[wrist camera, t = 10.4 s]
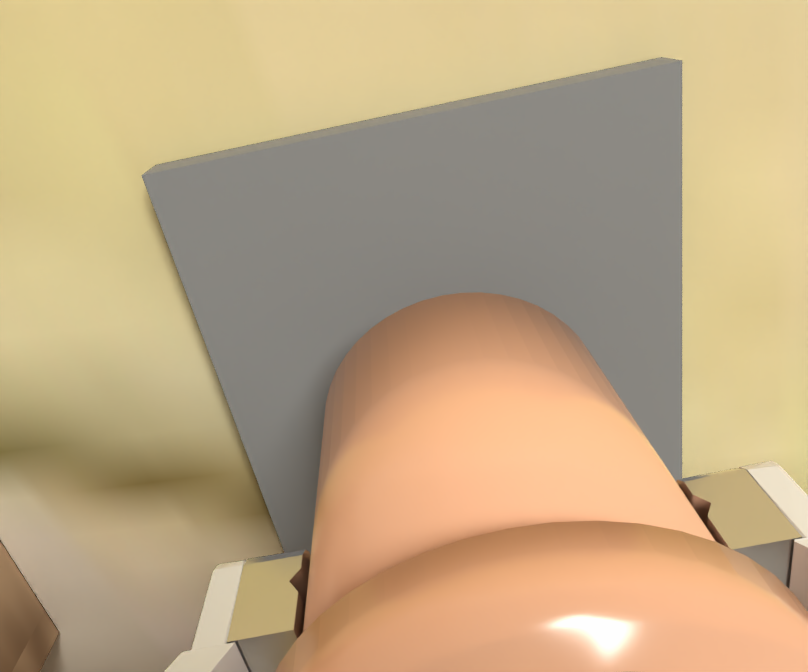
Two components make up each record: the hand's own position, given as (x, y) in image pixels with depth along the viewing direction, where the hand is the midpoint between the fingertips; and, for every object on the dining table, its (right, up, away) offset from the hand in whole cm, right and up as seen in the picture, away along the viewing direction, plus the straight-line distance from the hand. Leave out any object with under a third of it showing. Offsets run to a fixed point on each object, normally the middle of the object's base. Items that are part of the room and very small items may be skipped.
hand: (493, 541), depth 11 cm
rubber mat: (0, +3, +6) cm, 6 cm away
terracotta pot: (0, +2, +3) cm, 4 cm away
